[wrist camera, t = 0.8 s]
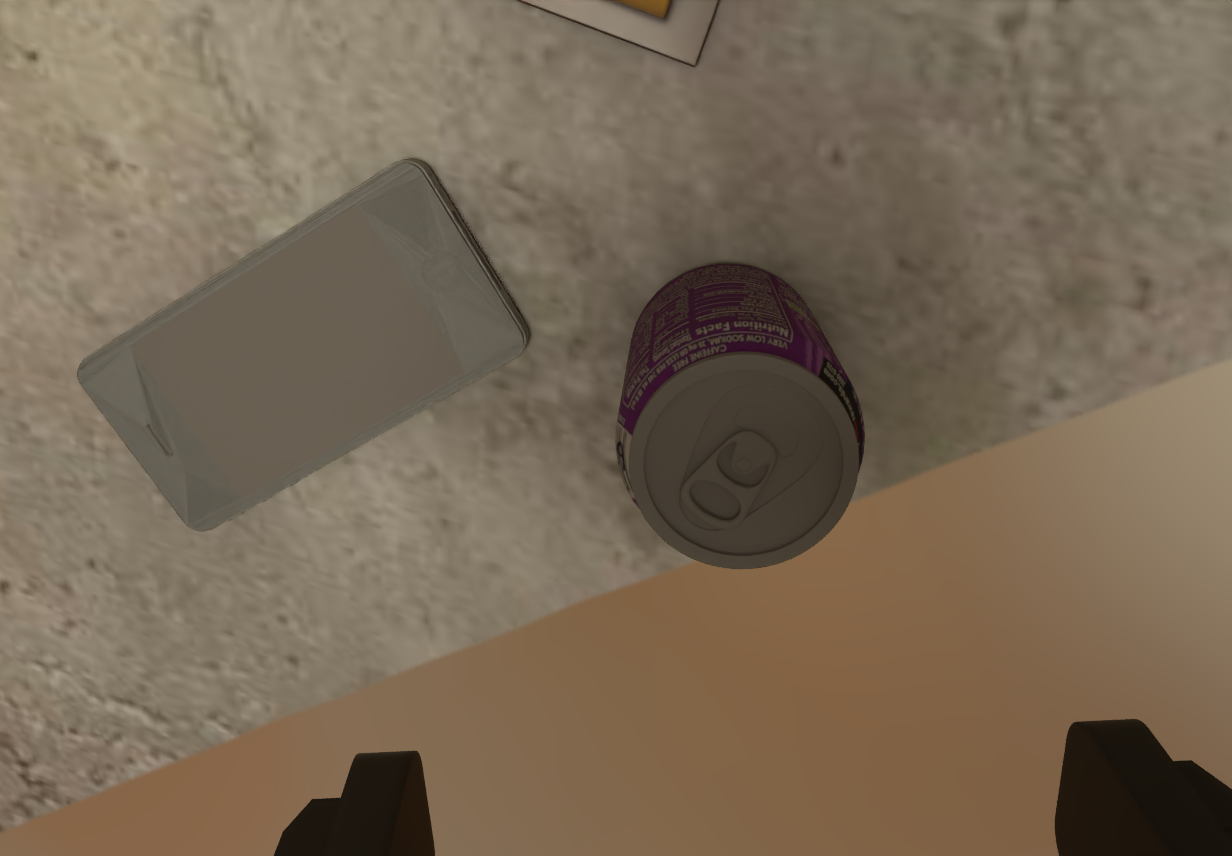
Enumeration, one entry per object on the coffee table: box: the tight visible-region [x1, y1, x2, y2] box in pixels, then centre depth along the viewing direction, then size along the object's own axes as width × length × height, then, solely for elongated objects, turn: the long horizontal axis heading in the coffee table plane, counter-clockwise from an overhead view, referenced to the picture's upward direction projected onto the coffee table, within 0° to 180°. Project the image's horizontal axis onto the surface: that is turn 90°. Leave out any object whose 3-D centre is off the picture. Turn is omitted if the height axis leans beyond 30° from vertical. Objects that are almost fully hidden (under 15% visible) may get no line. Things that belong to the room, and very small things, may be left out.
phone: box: [77, 159, 529, 532], centre depth 40 cm, size 8×16×1 cm, turn 120°
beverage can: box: [616, 264, 865, 569], centre depth 34 cm, size 7×7×12 cm
